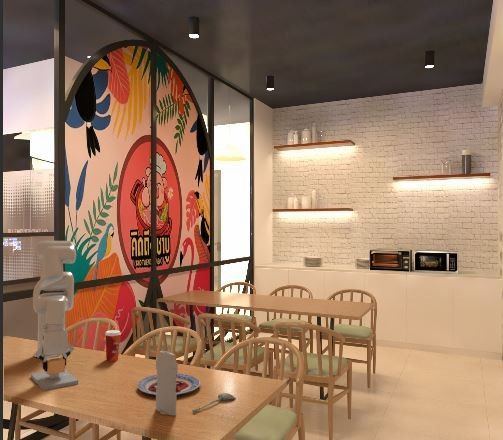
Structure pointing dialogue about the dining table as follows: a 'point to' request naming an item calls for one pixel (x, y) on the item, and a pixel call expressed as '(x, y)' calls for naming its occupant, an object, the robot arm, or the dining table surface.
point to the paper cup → (112, 345)
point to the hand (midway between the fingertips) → (54, 368)
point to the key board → (54, 380)
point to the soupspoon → (220, 397)
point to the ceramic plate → (182, 384)
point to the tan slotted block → (55, 365)
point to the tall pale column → (166, 383)
